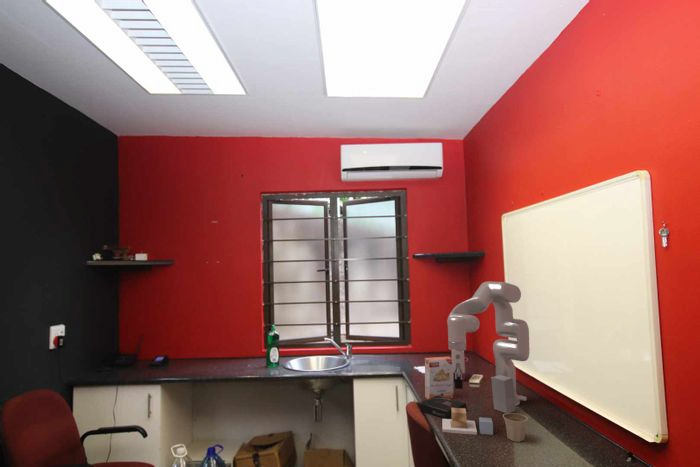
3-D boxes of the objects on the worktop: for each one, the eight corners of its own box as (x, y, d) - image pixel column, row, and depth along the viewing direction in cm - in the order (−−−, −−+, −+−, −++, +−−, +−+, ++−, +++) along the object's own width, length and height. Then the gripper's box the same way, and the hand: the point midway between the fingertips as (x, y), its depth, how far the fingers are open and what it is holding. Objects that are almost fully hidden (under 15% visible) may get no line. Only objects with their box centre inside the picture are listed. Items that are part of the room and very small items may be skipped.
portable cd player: (466, 411, 201) (466, 403, 201) (447, 420, 189) (446, 411, 189) (438, 403, 212) (437, 395, 213) (417, 411, 200) (417, 403, 201)
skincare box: (516, 411, 198) (515, 377, 199) (505, 414, 195) (504, 380, 196) (501, 406, 206) (500, 373, 207) (491, 409, 202) (490, 375, 203)
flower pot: (522, 433, 173) (521, 412, 174) (532, 443, 164) (532, 421, 164) (499, 434, 173) (499, 413, 173) (509, 444, 163) (508, 421, 164)
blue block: (491, 430, 177) (491, 418, 178) (493, 434, 172) (492, 422, 173) (479, 429, 178) (479, 417, 179) (480, 433, 173) (480, 421, 174)
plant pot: (469, 383, 245) (469, 361, 246) (445, 382, 248) (445, 360, 249) (468, 376, 259) (467, 356, 260) (444, 375, 262) (444, 355, 263)
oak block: (465, 422, 182) (465, 408, 182) (466, 427, 176) (466, 413, 177) (451, 421, 183) (451, 407, 184) (452, 426, 177) (451, 412, 178)
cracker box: (429, 401, 214) (429, 360, 215) (424, 397, 219) (424, 357, 221) (454, 399, 217) (453, 358, 219) (448, 395, 223) (447, 355, 225)
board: (474, 423, 184) (474, 420, 184) (477, 434, 172) (477, 431, 172) (442, 421, 187) (442, 418, 187) (442, 432, 175) (442, 428, 175)
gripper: (467, 349, 173) (468, 391, 172) (465, 341, 190) (466, 380, 188) (448, 349, 174) (449, 390, 173) (448, 341, 191) (449, 379, 190)
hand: (458, 385), depth 181 cm, fingers open, 9 cm apart
